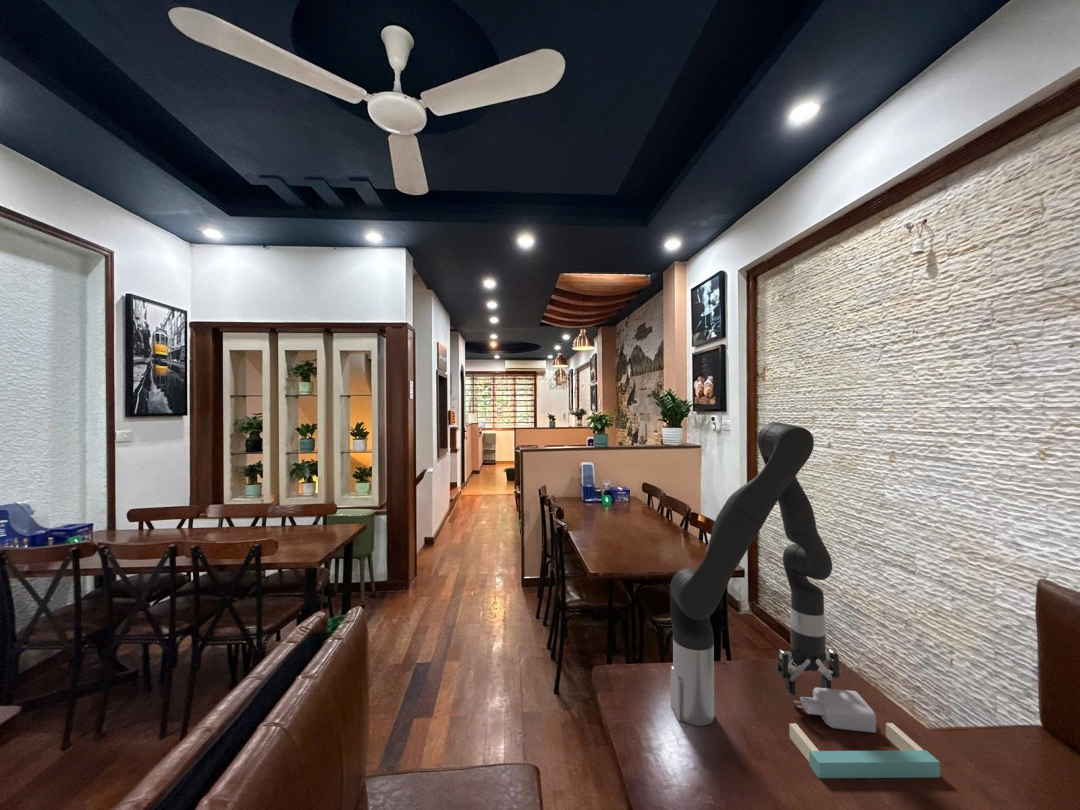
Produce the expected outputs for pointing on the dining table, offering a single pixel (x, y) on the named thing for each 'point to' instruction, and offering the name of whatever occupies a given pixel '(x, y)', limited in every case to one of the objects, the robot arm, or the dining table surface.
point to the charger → (840, 709)
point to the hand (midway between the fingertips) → (808, 693)
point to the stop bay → (869, 758)
